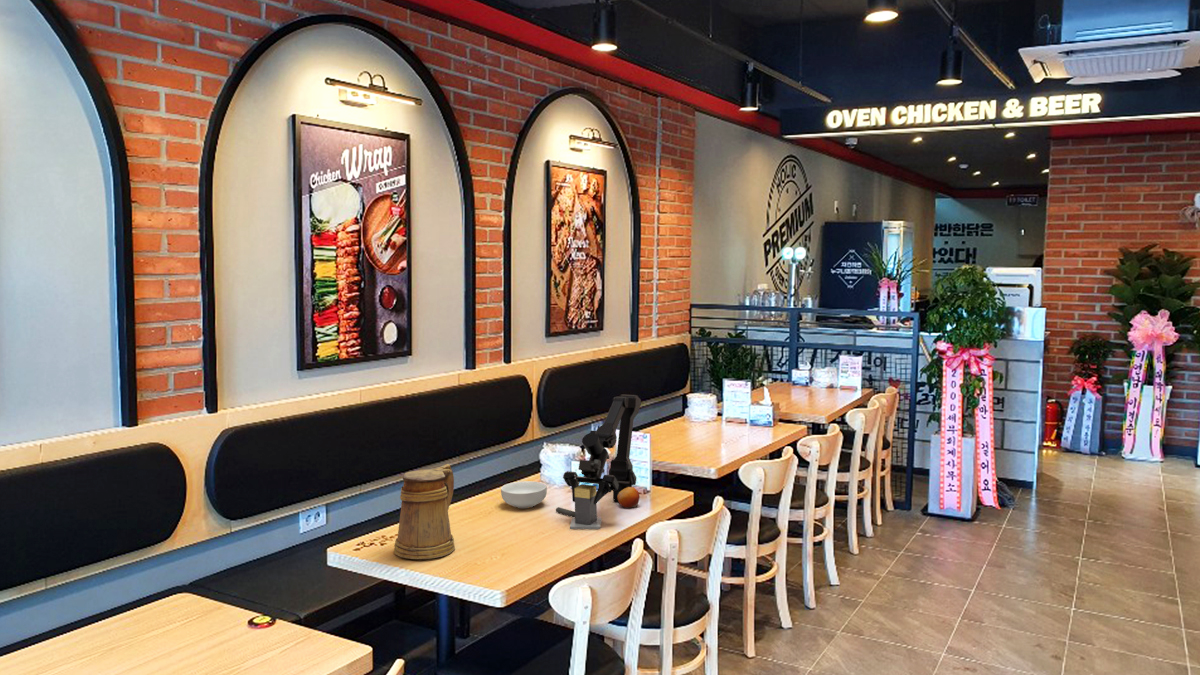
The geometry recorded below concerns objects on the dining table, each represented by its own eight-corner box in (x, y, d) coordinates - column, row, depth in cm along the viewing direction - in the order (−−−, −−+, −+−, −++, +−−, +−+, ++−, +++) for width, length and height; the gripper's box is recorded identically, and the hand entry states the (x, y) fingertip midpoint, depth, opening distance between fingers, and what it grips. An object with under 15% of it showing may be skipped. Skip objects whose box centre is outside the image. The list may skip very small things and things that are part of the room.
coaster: (601, 520, 304) (601, 517, 304) (600, 529, 294) (600, 526, 294) (572, 520, 305) (572, 517, 304) (569, 529, 295) (569, 526, 295)
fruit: (645, 505, 317) (633, 486, 317) (626, 516, 318) (614, 497, 317) (644, 499, 325) (632, 480, 325) (626, 510, 326) (614, 491, 325)
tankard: (381, 556, 270) (378, 475, 268) (430, 534, 291) (427, 459, 289) (429, 565, 262) (427, 481, 260) (475, 542, 283) (473, 464, 281)
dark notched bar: (554, 512, 315) (554, 507, 315) (558, 511, 316) (558, 506, 316) (581, 520, 305) (581, 515, 305) (586, 519, 306) (585, 513, 306)
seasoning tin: (582, 518, 303) (581, 484, 302) (596, 520, 301) (596, 485, 300) (575, 523, 298) (574, 488, 297) (590, 525, 296) (589, 489, 295)
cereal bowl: (504, 499, 333) (504, 480, 333) (549, 499, 332) (548, 480, 332) (497, 512, 316) (497, 492, 316) (544, 512, 316) (544, 492, 315)
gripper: (564, 448, 304) (550, 487, 295) (615, 452, 297) (602, 492, 288) (574, 465, 312) (561, 504, 303) (624, 470, 305) (612, 510, 296)
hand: (583, 502), depth 297 cm, fingers open, 7 cm apart
